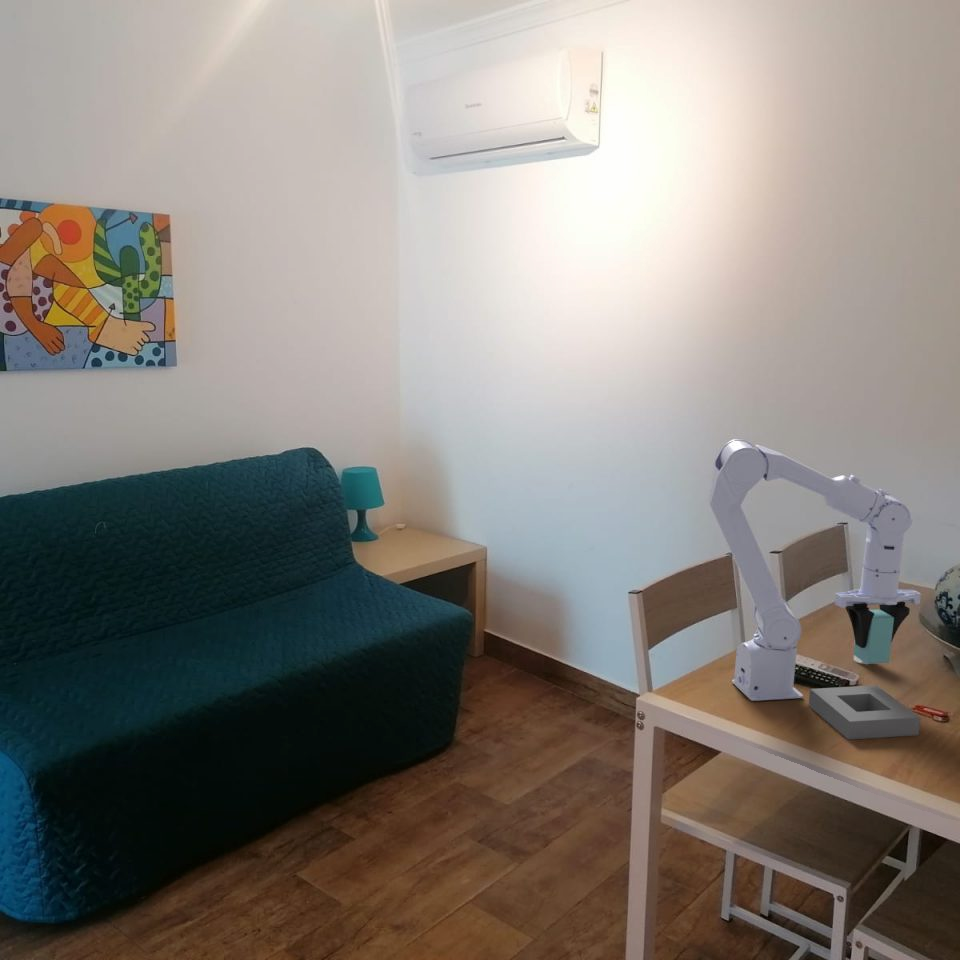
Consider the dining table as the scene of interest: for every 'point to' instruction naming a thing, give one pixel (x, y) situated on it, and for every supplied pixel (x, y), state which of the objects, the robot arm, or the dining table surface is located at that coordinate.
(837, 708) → the socket block
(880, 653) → the peg
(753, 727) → the dining table surface
